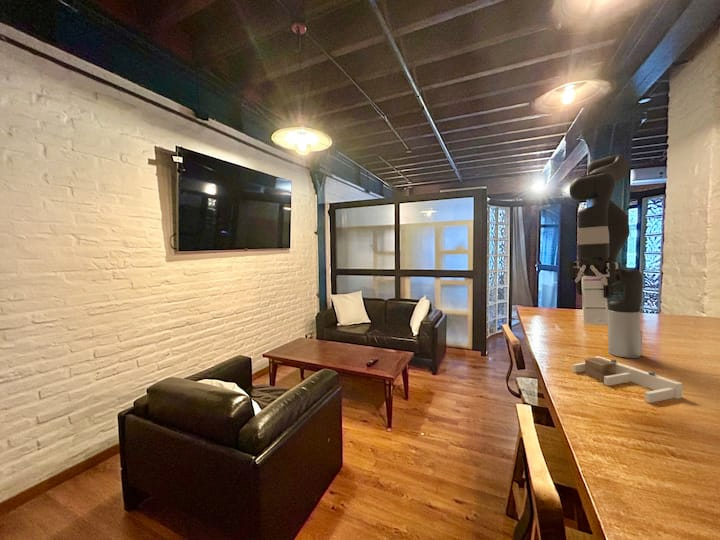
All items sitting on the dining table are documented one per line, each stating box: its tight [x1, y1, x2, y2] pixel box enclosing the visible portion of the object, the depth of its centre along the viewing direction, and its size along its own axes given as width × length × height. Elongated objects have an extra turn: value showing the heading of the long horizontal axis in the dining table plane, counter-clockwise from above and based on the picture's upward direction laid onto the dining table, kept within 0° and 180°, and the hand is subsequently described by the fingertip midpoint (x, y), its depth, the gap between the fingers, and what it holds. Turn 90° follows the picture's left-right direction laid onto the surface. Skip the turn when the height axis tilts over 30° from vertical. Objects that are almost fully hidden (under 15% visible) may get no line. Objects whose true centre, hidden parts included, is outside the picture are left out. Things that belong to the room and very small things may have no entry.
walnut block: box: [584, 357, 616, 382], centre depth 96 cm, size 6×6×5 cm
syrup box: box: [581, 275, 608, 326], centre depth 90 cm, size 6×6×14 cm
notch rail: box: [572, 355, 683, 404], centre depth 91 cm, size 11×23×5 cm, turn 12°
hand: (594, 296), depth 90 cm, fingers closed on syrup box, 8 cm apart
